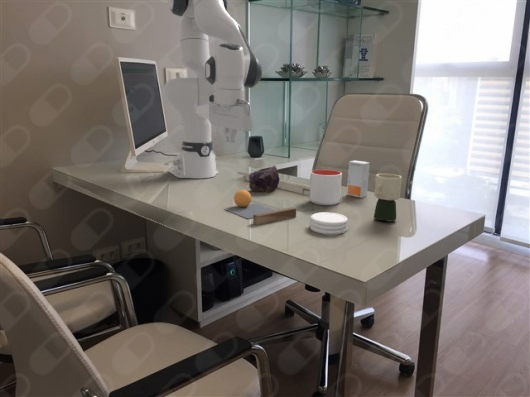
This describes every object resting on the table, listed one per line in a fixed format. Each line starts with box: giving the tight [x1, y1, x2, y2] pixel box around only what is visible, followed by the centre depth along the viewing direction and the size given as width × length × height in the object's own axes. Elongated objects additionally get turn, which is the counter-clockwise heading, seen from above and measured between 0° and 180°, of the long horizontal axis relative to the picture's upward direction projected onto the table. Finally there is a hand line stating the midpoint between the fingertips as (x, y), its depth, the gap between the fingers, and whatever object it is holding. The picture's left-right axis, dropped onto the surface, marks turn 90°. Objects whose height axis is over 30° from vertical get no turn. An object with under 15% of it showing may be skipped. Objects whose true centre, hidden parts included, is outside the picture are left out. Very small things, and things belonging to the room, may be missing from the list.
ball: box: [233, 189, 252, 207], centre depth 136 cm, size 5×5×5 cm
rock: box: [248, 165, 280, 193], centre depth 158 cm, size 12×9×10 cm
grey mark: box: [225, 202, 275, 220], centre depth 133 cm, size 12×12×1 cm
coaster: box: [309, 211, 349, 235], centre depth 118 cm, size 10×10×4 cm
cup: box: [309, 169, 343, 206], centre depth 144 cm, size 10×10×10 cm
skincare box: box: [346, 160, 371, 199], centre depth 153 cm, size 6×4×12 cm
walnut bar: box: [252, 206, 297, 226], centre depth 124 cm, size 2×14×2 cm, turn 128°
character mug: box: [373, 173, 403, 222], centre depth 125 cm, size 11×7×13 cm, turn 132°
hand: (229, 142), depth 142 cm, fingers closed
